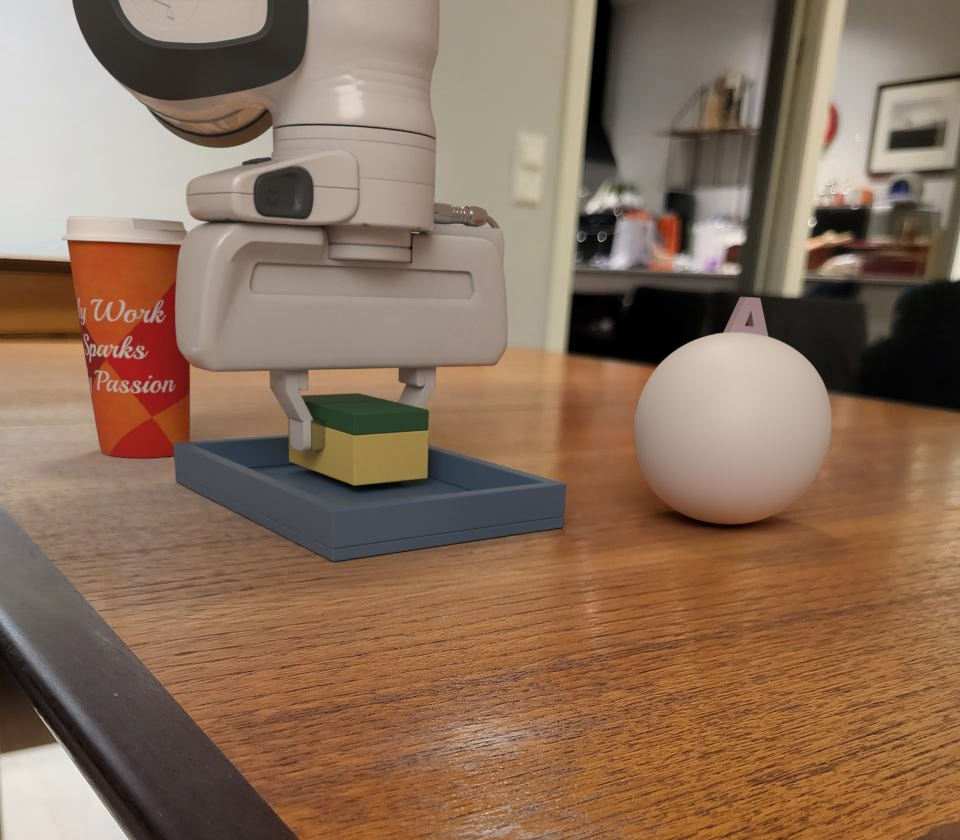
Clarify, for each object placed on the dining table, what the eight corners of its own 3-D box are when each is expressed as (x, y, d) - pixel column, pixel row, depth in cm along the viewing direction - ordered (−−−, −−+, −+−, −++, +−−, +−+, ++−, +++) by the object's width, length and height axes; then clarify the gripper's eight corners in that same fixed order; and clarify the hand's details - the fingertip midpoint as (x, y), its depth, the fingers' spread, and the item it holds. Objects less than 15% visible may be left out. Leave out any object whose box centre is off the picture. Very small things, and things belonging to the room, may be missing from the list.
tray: (175, 481, 61) (172, 442, 60) (374, 464, 69) (374, 428, 68) (332, 562, 46) (332, 511, 45) (563, 527, 54) (567, 483, 53)
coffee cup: (56, 454, 68) (30, 213, 62) (130, 437, 75) (112, 220, 70) (164, 465, 65) (146, 217, 60) (229, 446, 73) (218, 224, 68)
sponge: (288, 461, 62) (287, 395, 61) (358, 455, 65) (358, 392, 64) (354, 485, 56) (353, 413, 55) (427, 478, 59) (429, 409, 58)
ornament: (725, 495, 63) (750, 295, 59) (853, 534, 55) (893, 304, 51) (592, 508, 58) (609, 291, 54) (710, 552, 50) (742, 300, 46)
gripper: (473, 209, 64) (465, 428, 68) (155, 181, 52) (172, 448, 57) (536, 208, 59) (522, 443, 64) (201, 176, 47) (215, 468, 52)
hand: (354, 446), depth 60 cm, fingers closed on sponge, 5 cm apart
